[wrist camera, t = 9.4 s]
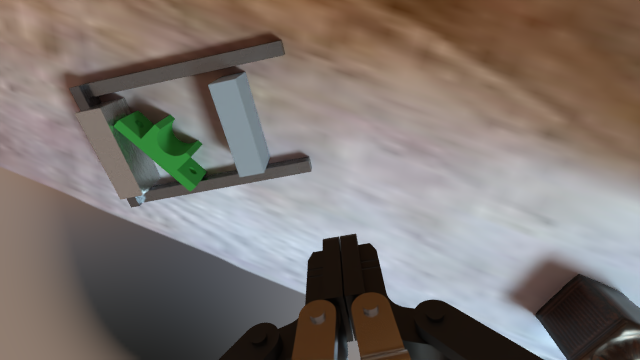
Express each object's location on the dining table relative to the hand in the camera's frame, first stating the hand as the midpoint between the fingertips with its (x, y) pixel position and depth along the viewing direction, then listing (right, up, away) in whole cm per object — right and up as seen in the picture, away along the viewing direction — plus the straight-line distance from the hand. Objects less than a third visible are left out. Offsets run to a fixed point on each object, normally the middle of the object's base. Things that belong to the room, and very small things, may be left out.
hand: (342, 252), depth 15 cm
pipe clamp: (-19, +9, +29) cm, 36 cm away
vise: (-16, +10, +28) cm, 34 cm away
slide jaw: (-10, +11, +27) cm, 31 cm away
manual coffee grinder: (+44, -19, +41) cm, 63 cm away
